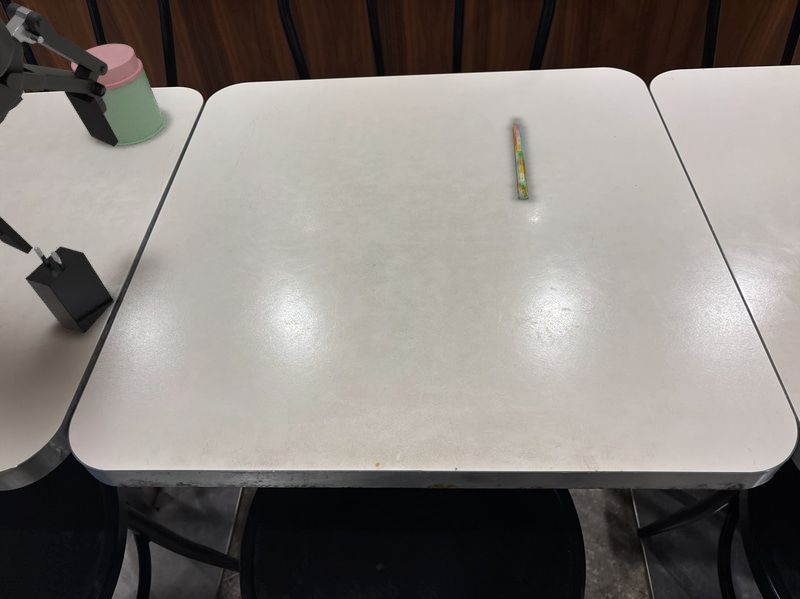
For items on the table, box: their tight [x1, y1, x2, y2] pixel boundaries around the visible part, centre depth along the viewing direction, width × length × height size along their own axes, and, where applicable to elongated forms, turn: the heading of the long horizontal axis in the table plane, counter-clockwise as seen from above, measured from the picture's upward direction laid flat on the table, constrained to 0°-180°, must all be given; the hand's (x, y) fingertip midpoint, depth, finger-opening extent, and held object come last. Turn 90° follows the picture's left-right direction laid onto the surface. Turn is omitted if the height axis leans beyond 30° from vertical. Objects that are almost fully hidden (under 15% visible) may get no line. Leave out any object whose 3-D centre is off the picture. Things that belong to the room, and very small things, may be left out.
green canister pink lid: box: [70, 43, 168, 147], centre depth 87 cm, size 10×10×12 cm
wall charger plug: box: [25, 245, 115, 334], centre depth 62 cm, size 3×5×10 cm, turn 158°
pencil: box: [512, 118, 530, 201], centre depth 80 cm, size 1×1×18 cm
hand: (63, 189), depth 58 cm, fingers open, 13 cm apart
